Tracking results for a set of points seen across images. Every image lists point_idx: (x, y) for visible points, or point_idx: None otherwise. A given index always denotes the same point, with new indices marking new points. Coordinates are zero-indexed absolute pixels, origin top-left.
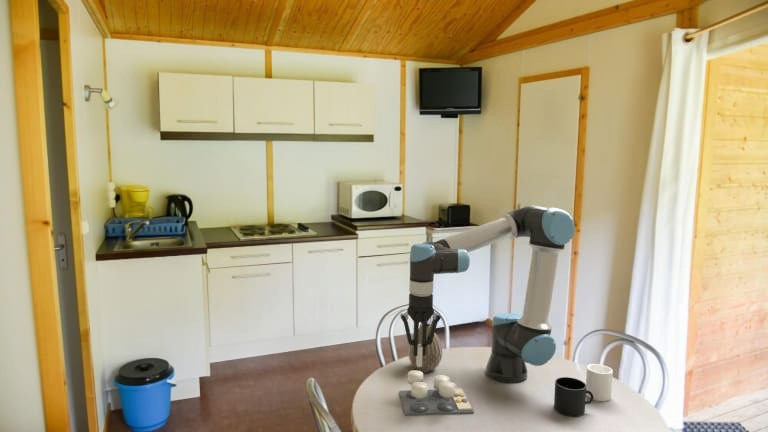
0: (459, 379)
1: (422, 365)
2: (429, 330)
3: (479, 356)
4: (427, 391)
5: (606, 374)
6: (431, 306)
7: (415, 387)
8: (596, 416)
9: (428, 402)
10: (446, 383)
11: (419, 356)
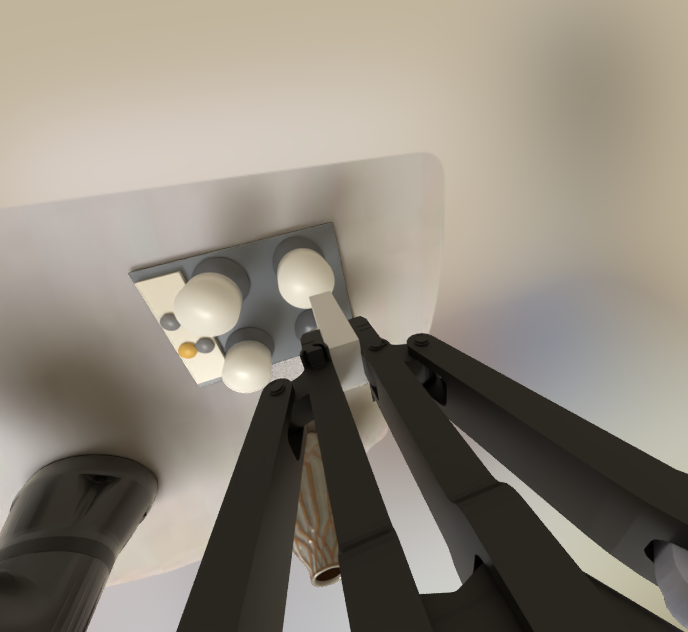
0: (219, 430)
1: (315, 439)
2: (296, 511)
3: (193, 531)
4: (277, 276)
5: None
6: None
7: (319, 264)
8: None
9: (277, 297)
10: (212, 318)
11: (332, 315)
